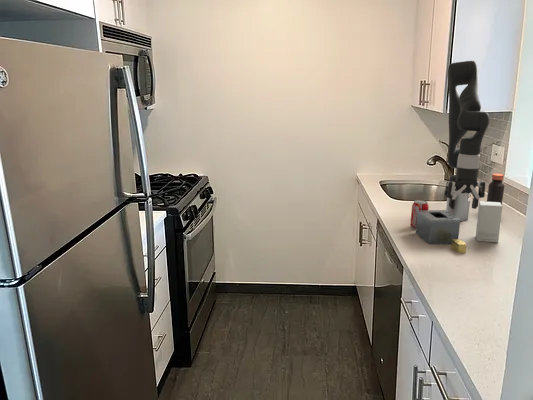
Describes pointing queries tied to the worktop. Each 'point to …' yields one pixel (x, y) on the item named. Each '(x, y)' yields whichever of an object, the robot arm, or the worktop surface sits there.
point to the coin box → (437, 226)
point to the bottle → (496, 189)
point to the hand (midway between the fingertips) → (462, 208)
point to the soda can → (415, 207)
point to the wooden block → (458, 246)
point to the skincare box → (488, 221)
